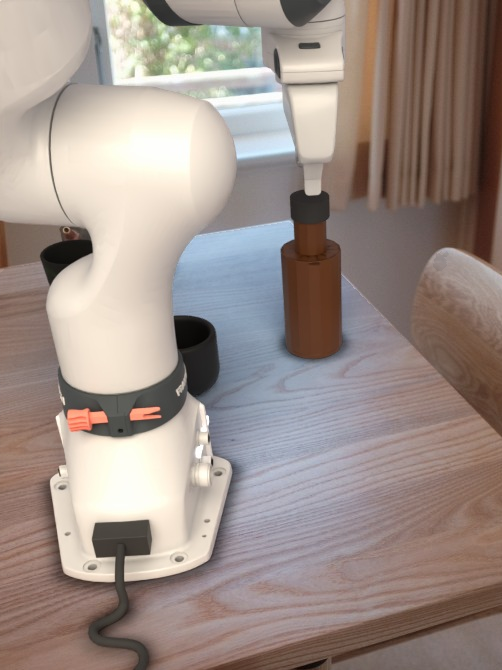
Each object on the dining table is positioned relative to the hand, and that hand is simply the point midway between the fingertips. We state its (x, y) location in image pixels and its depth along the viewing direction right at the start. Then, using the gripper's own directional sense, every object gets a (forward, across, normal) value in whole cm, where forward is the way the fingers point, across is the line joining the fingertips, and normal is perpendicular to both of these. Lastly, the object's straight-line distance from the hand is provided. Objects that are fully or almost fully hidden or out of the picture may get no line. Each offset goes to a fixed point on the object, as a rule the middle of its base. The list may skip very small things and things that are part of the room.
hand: (307, 178), depth 103 cm
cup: (+22, -7, -29) cm, 37 cm away
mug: (+22, +7, -18) cm, 29 cm away
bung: (+6, 0, 0) cm, 6 cm away
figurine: (+22, -17, -30) cm, 40 cm away
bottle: (+22, 0, 0) cm, 22 cm away
